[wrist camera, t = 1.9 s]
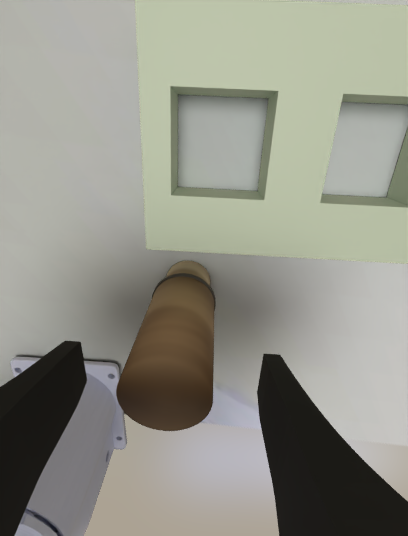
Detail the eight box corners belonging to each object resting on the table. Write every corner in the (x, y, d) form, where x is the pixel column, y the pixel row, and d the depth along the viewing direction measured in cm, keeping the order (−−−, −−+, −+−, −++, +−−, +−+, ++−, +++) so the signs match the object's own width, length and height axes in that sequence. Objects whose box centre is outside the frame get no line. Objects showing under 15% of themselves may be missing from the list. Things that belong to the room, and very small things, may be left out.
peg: (214, 305, 19) (211, 434, 11) (161, 302, 19) (119, 428, 11) (217, 257, 17) (217, 363, 9) (160, 253, 17) (110, 356, 9)
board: (393, 247, 17) (421, 264, 14) (155, 234, 17) (146, 249, 15) (467, 32, 12) (523, 9, 10) (149, 20, 13) (134, -5, 10)
